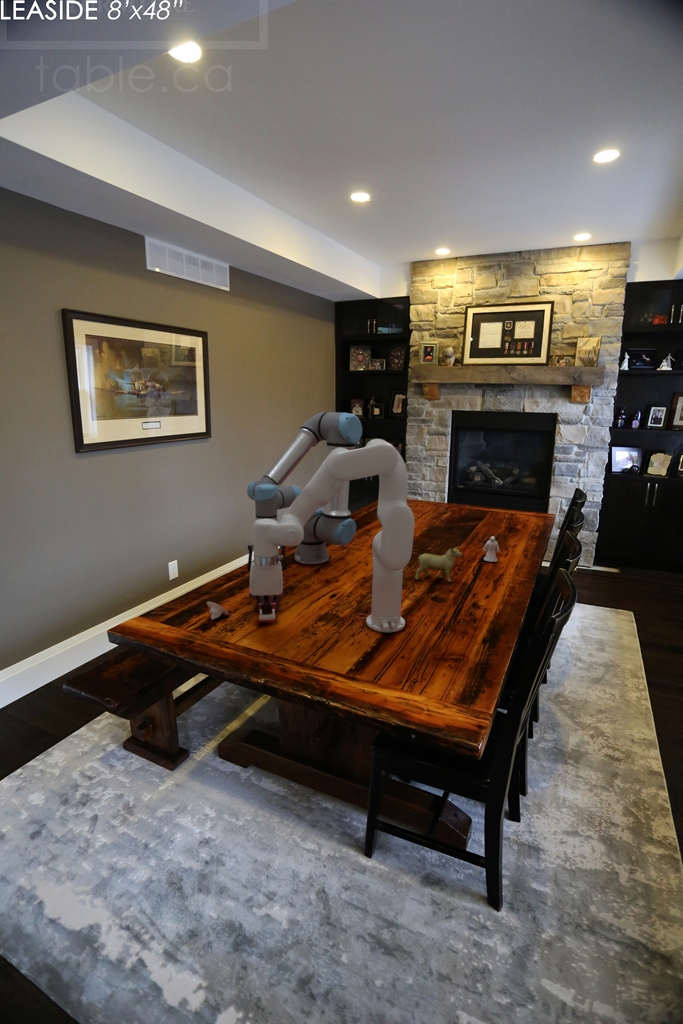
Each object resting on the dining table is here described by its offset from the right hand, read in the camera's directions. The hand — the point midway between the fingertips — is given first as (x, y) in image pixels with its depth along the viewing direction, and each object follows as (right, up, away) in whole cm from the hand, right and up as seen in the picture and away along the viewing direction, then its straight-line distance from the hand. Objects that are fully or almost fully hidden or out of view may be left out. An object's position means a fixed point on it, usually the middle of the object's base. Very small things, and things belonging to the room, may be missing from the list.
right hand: (266, 614), depth 157 cm
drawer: (-1, -2, +9) cm, 9 cm away
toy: (+62, +5, +44) cm, 76 cm away
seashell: (-17, -3, +8) cm, 19 cm away
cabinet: (-3, +1, +21) cm, 21 cm away
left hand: (-4, +4, +26) cm, 27 cm away
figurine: (+91, +10, +68) cm, 114 cm away
